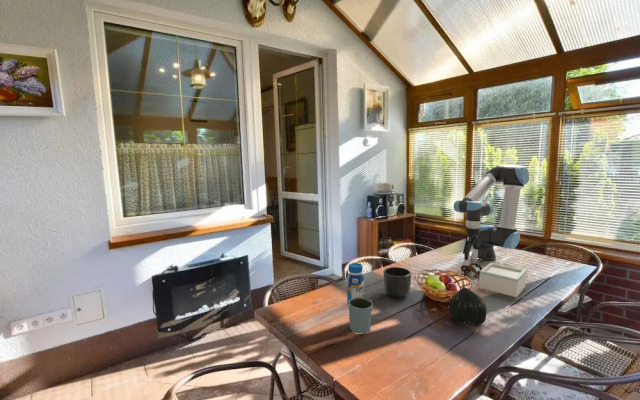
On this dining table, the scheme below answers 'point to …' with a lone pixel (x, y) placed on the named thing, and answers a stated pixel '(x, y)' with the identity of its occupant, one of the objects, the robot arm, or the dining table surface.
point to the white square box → (502, 279)
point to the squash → (467, 307)
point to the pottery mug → (471, 269)
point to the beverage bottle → (355, 282)
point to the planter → (397, 281)
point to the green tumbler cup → (360, 314)
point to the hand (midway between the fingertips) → (470, 262)
